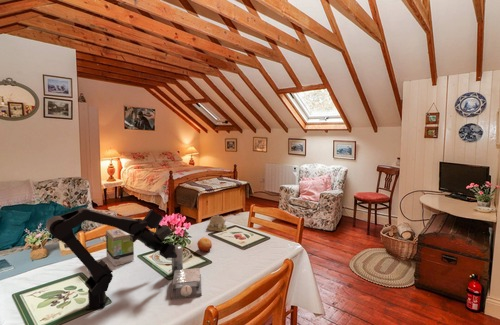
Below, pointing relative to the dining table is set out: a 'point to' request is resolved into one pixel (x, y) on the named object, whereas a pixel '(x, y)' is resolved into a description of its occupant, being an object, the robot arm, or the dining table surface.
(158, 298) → the dining table surface
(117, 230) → the tea box
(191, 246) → the dining table surface
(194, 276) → the pan
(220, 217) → the ceramic model
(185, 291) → the scale
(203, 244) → the fruit
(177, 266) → the cylinder
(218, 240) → the dining table surface
